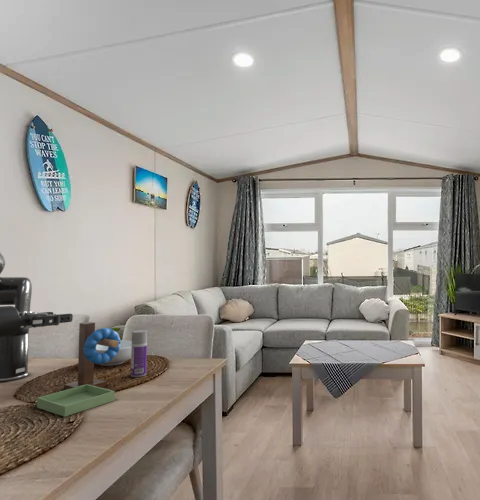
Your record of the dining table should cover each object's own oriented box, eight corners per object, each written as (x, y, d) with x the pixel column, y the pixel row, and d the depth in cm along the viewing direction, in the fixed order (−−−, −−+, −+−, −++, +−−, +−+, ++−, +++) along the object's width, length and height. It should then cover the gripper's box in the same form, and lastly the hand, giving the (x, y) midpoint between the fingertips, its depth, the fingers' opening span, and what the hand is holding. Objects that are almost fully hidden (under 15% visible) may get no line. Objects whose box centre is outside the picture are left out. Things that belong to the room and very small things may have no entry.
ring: (80, 366, 114) (81, 331, 114) (116, 358, 124) (117, 325, 124) (86, 368, 113) (87, 332, 113) (122, 359, 122) (123, 326, 123)
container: (149, 373, 137) (150, 330, 137) (140, 377, 132) (141, 332, 132) (136, 372, 137) (137, 329, 138) (127, 376, 133) (128, 332, 133)
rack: (64, 389, 120) (65, 323, 120) (91, 382, 127) (92, 320, 127) (100, 399, 112) (102, 329, 112) (127, 391, 119) (128, 325, 119)
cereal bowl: (107, 371, 138) (108, 351, 138) (74, 366, 144) (75, 347, 144) (147, 359, 154) (148, 341, 154) (116, 355, 160) (117, 338, 160)
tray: (36, 407, 105) (36, 397, 105) (86, 392, 117) (87, 384, 117) (64, 416, 100) (64, 406, 100) (114, 400, 111) (114, 391, 111)
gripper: (7, 308, 91) (79, 304, 106) (-26, 305, 96) (47, 301, 111) (4, 341, 90) (77, 332, 105) (-29, 336, 96) (45, 328, 111)
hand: (61, 316), depth 108 cm, fingers open, 8 cm apart
